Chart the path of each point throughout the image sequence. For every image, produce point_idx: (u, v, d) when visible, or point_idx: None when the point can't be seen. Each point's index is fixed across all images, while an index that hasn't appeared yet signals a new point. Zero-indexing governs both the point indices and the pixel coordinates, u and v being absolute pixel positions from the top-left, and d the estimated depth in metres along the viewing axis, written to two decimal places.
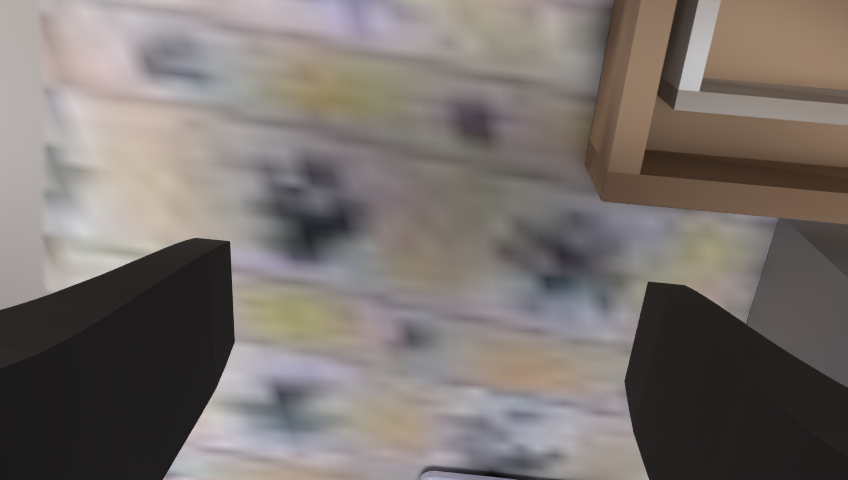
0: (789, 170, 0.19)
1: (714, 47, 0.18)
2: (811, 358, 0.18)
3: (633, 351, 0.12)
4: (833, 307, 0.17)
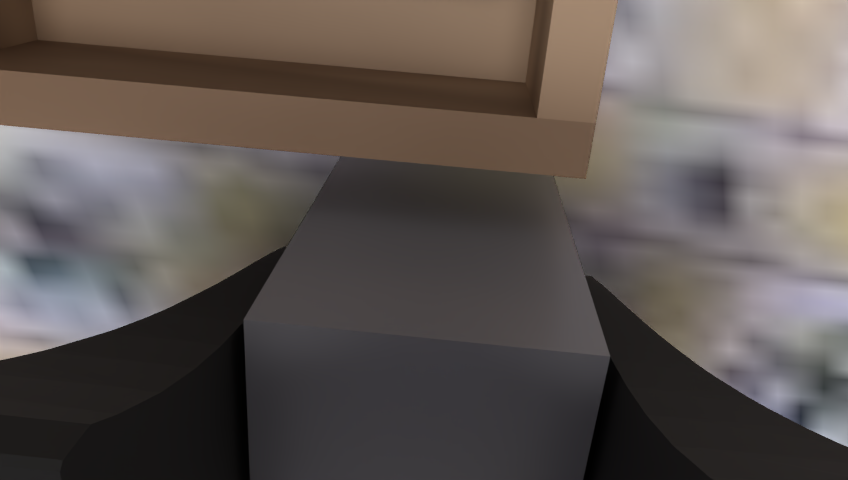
0: (276, 70, 0.11)
1: None
2: None
3: None
4: None
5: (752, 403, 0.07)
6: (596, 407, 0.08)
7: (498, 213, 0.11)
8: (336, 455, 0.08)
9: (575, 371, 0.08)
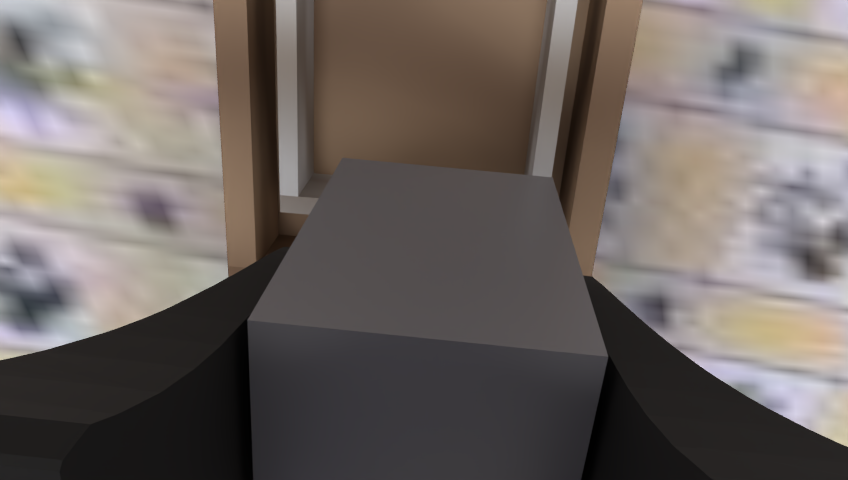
0: None
1: (340, 149, 0.20)
2: None
3: None
4: None
5: (752, 403, 0.07)
6: (595, 406, 0.08)
7: (498, 215, 0.11)
8: (339, 454, 0.08)
9: (574, 371, 0.08)
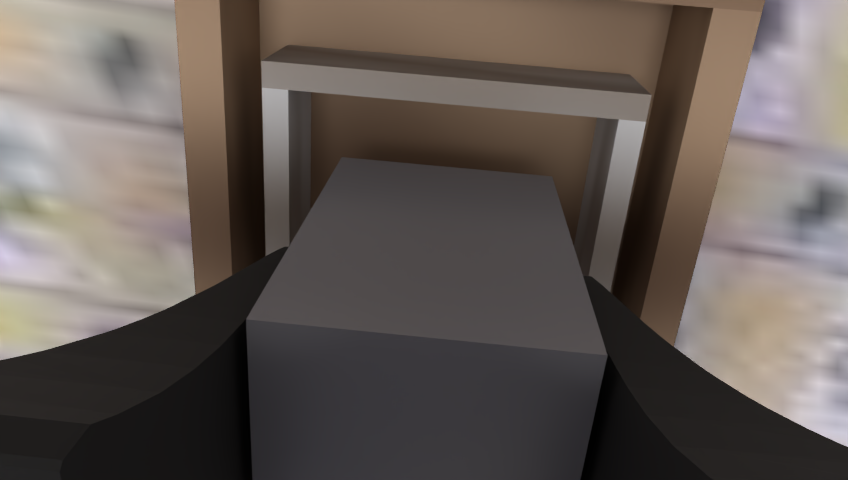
0: None
1: None
2: None
3: None
4: None
5: (752, 403, 0.07)
6: (593, 406, 0.08)
7: (498, 213, 0.11)
8: (338, 452, 0.08)
9: (573, 370, 0.08)
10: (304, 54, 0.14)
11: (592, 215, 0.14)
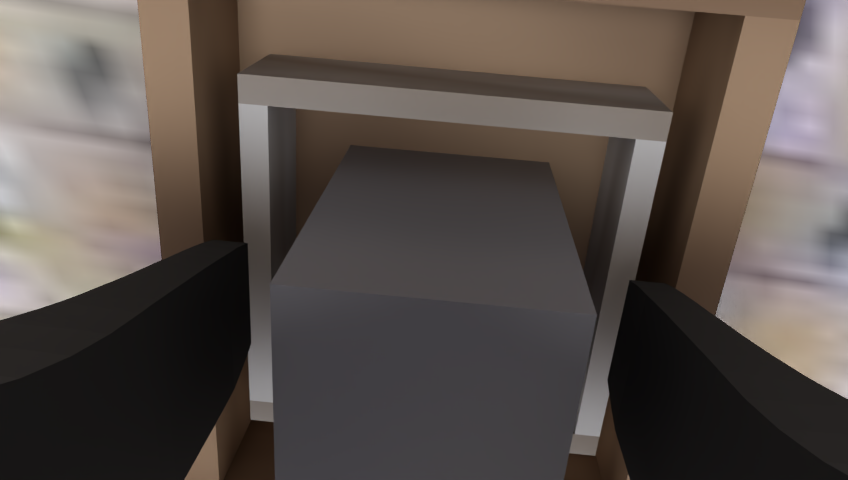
0: None
1: None
2: None
3: (615, 349, 0.12)
4: None
5: None
6: (585, 363, 0.09)
7: (498, 195, 0.12)
8: (352, 408, 0.09)
9: (565, 329, 0.08)
10: (286, 65, 0.12)
11: (604, 242, 0.13)
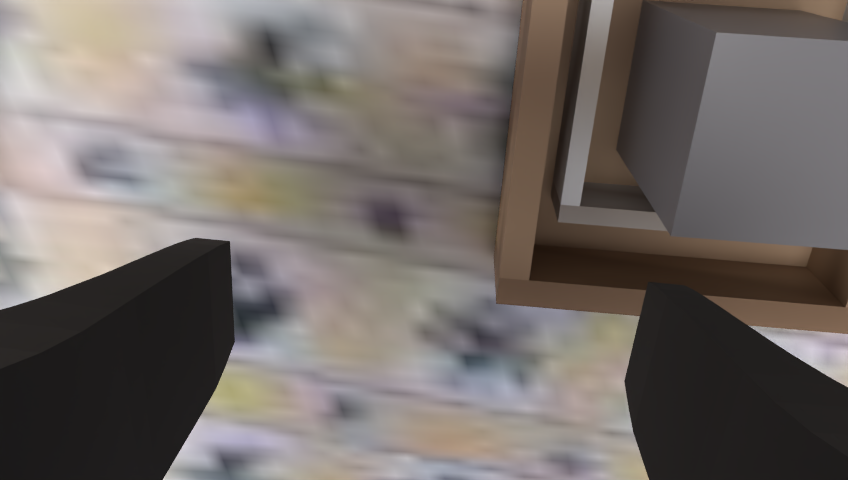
0: (676, 267, 0.20)
1: (602, 156, 0.20)
2: (659, 136, 0.15)
3: (633, 351, 0.12)
4: (676, 63, 0.14)
5: None
6: None
7: (793, 17, 0.16)
8: (752, 132, 0.13)
9: None
10: None
11: None
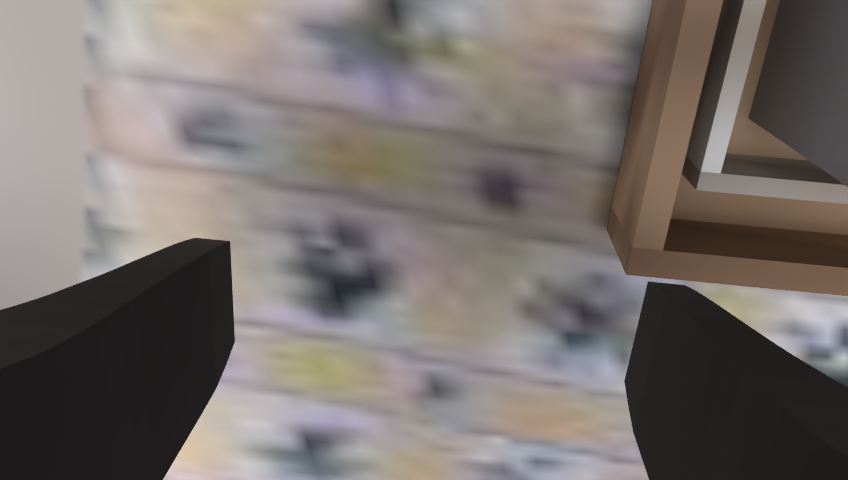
0: (805, 241, 0.19)
1: (733, 124, 0.19)
2: (831, 95, 0.15)
3: (633, 351, 0.12)
4: None
5: None
6: None
7: None
8: None
9: None
10: None
11: None
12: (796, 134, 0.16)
